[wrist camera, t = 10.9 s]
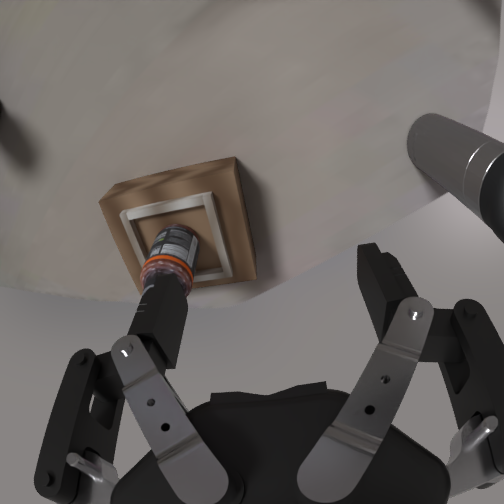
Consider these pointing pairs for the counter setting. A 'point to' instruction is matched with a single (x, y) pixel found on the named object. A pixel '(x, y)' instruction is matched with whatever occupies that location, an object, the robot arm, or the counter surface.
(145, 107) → the counter surface
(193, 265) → the supplement bottle
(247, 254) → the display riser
